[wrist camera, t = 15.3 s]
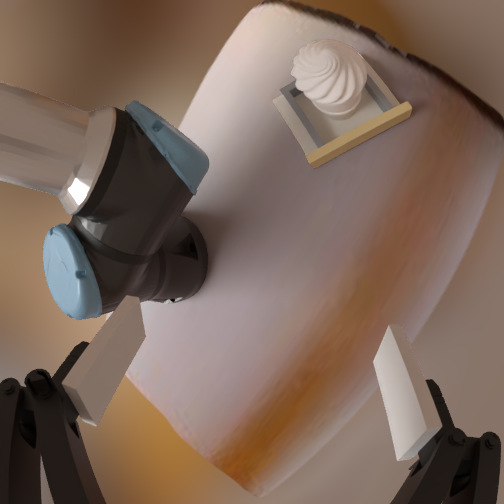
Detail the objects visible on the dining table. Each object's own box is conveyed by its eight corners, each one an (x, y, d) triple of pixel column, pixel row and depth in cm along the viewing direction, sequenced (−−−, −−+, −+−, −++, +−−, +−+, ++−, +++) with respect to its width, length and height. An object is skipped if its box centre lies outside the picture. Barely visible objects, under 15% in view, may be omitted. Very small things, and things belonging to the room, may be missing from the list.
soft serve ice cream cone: (300, 113, 39) (262, 59, 24) (332, 73, 37) (309, 7, 22) (347, 145, 37) (333, 98, 22) (379, 102, 35) (381, 40, 20)
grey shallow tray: (273, 102, 41) (263, 91, 37) (359, 55, 35) (357, 40, 31) (315, 170, 40) (309, 163, 36) (408, 119, 34) (412, 108, 30)
